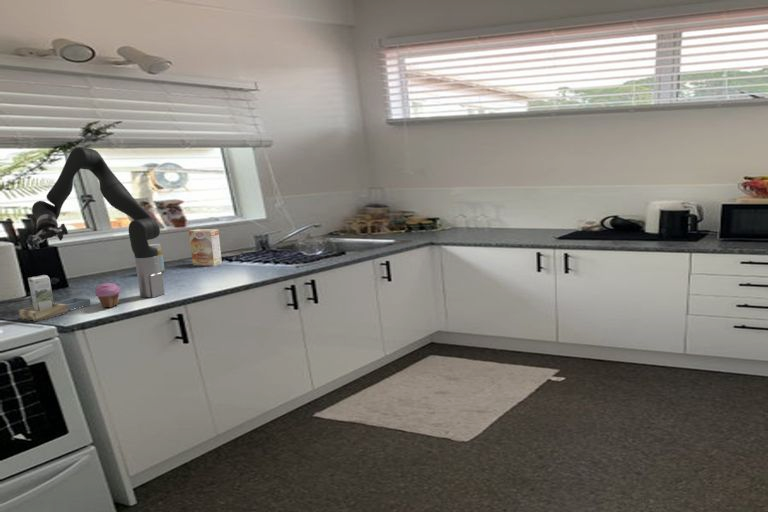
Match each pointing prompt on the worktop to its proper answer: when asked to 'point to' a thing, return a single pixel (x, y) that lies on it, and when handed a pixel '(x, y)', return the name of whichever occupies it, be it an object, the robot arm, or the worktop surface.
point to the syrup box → (41, 292)
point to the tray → (42, 312)
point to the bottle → (159, 256)
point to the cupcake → (108, 294)
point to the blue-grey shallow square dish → (75, 302)
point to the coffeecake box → (205, 247)
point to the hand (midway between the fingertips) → (48, 242)
